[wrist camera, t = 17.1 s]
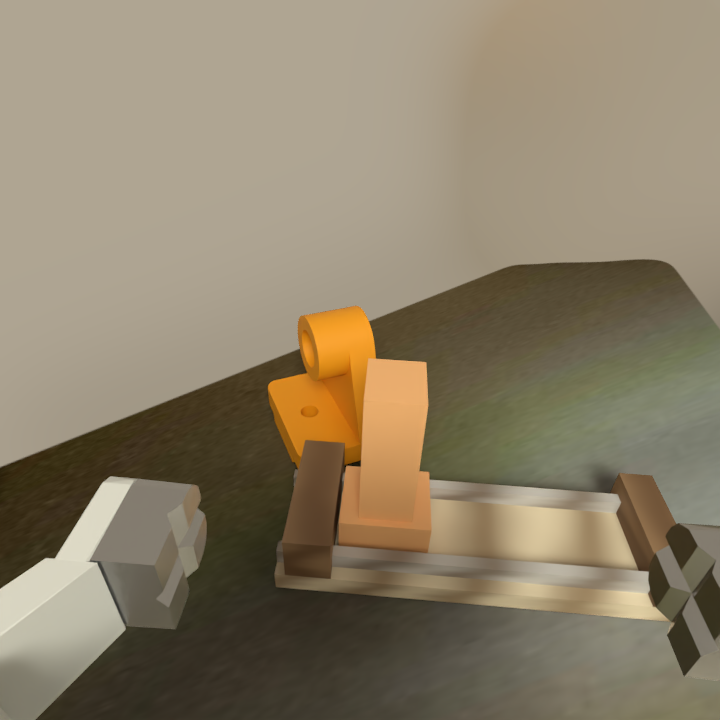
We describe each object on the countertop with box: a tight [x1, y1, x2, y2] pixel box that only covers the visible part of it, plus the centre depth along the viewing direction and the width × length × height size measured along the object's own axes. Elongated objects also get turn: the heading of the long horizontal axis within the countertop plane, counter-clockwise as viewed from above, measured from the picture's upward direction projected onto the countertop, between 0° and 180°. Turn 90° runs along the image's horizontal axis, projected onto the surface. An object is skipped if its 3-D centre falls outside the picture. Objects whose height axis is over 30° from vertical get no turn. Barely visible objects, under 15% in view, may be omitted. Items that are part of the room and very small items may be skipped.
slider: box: [339, 358, 432, 553], centre depth 34 cm, size 6×5×13 cm
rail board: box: [274, 440, 676, 622], centre depth 37 cm, size 27×9×5 cm, turn 86°
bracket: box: [268, 306, 376, 470], centre depth 44 cm, size 11×7×12 cm
